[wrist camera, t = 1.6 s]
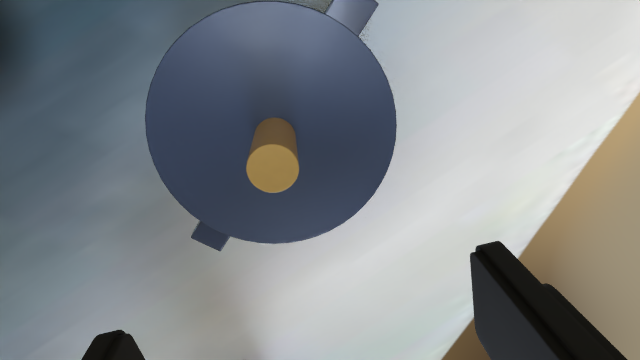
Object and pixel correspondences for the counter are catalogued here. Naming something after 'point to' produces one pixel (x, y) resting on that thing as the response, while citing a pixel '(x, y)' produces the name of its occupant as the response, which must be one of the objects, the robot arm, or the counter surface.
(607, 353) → the robot arm
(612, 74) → the counter surface
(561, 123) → the counter surface
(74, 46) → the counter surface
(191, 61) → the lid
